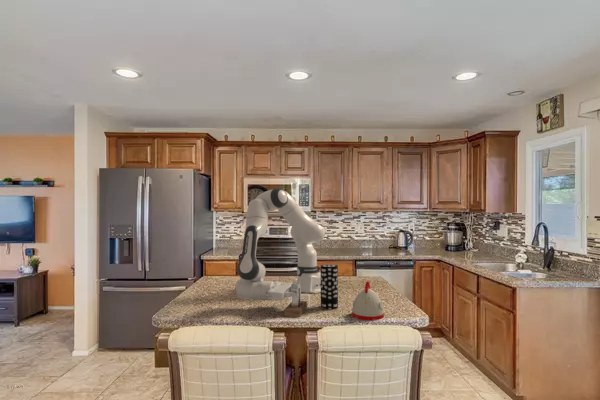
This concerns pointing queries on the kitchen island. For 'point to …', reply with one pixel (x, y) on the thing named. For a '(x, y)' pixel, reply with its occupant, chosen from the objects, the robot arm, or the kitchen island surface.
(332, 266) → the spotted tube
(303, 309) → the brown slotted block
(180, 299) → the kitchen island surface
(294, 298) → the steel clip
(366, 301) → the kitchen timer
